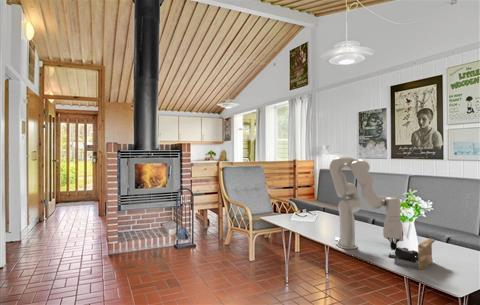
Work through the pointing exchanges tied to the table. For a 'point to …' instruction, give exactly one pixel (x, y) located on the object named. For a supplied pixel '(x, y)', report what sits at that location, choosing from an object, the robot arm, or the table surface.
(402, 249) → the end cap
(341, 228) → the robot arm
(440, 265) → the table surface
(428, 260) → the wall board
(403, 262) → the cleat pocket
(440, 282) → the table surface
